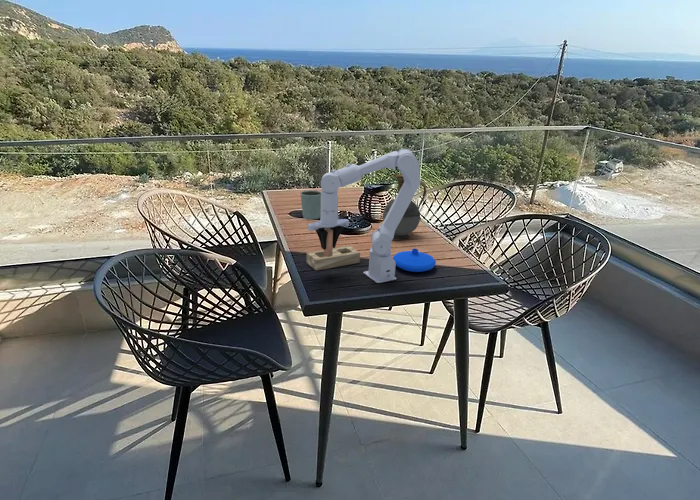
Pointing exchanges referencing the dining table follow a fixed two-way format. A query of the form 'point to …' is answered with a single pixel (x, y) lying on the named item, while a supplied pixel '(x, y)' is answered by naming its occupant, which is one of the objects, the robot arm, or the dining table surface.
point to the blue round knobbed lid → (414, 261)
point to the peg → (329, 243)
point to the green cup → (311, 204)
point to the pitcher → (406, 212)
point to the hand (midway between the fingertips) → (328, 247)
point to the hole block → (333, 258)
